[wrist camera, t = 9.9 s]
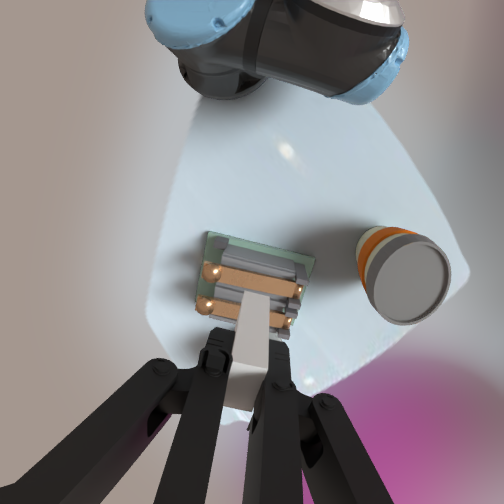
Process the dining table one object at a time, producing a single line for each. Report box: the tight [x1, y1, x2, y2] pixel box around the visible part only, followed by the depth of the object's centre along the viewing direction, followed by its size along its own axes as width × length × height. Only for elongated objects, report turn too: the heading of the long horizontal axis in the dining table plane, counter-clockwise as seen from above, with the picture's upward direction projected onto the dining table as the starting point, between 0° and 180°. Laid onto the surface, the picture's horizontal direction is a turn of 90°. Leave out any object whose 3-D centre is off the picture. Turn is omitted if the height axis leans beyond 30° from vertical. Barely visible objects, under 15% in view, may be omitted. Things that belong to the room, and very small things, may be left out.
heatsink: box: [195, 231, 315, 340], centre depth 48 cm, size 13×18×8 cm
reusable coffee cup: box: [356, 226, 451, 325], centre depth 42 cm, size 12×13×15 cm
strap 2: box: [195, 294, 293, 330], centre depth 46 cm, size 3×15×2 cm, turn 76°
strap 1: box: [201, 261, 304, 299], centre depth 44 cm, size 3×15×2 cm, turn 76°
